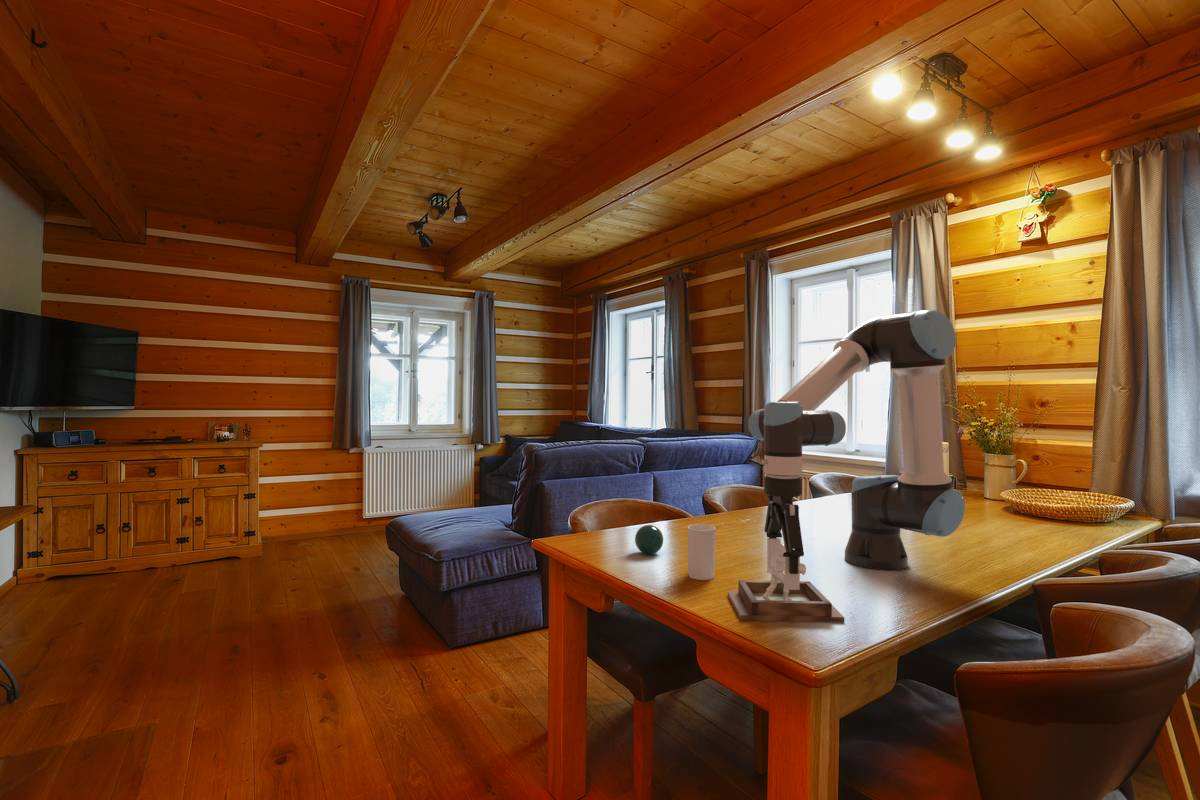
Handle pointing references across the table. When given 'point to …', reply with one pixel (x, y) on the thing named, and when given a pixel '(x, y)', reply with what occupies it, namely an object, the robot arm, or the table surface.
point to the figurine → (779, 573)
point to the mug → (701, 551)
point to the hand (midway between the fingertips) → (782, 578)
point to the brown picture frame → (782, 603)
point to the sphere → (649, 539)
